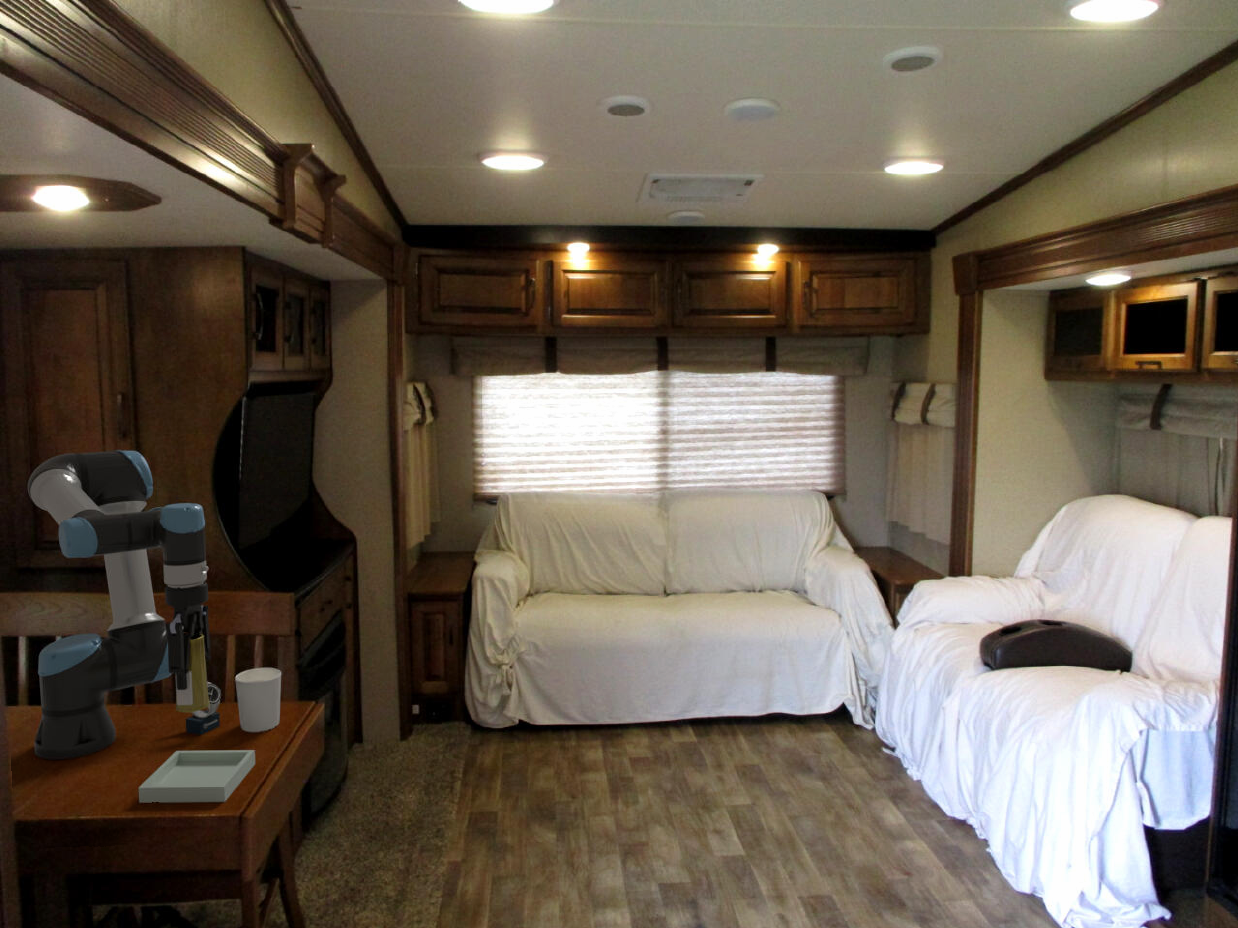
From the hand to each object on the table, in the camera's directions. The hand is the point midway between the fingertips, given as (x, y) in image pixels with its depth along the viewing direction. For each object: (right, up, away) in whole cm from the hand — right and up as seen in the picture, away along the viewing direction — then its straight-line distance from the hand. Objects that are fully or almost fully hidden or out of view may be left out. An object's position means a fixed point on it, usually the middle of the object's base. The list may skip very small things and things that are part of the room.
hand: (192, 697), depth 176 cm
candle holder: (+1, -14, +30) cm, 33 cm away
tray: (+1, -17, +2) cm, 17 cm away
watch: (-11, -14, +27) cm, 33 cm away
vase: (0, -2, 0) cm, 2 cm away
